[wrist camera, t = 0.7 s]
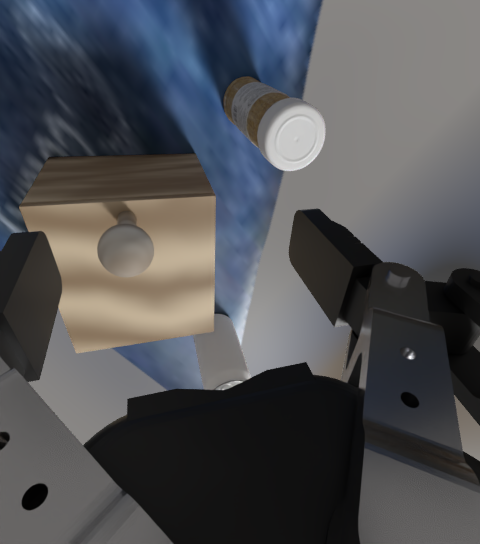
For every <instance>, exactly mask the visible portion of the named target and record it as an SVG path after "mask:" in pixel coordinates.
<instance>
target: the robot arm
mask: <svg viewBox="0 0 480 544" xmlns="http://www.w3.org/2000/svg"><path fill="white" fill-rule="evenodd" d="M289 258H290V261H291V264H292V265H293V267H294V269H295V270H296V272H297V273H298V274H299V276H300V277H301V279H302V280H303V282H304V283H305V285H306V286H307V288H308V289H309V290H310V292H311V294H312V295H313V296H314V298H315V299H316V301H317V302H318V304H319V305H320V307H321V308H322V309H323V311H324V313H325V314H326V315H327V317H328V318H329V320H330V321H331V323H332V324H333V325H334V327H339V326H345V325H350V326H351V331H350V334H349V338H348V343H347V349H346V355H345V361H344V367H343V372H342V378H341V381H340V380H338V379H334V378H330V377H326V376H319V375H313V374H312V372H311V370H310V368H309V367H308V365H307V363H306V362H305V363H300V364H295V365H290V366H285V367H280V368H276V369H270V370H266V371H264V372H262V373H260V374H258V375H256V376H254V377H252V378H250V379H248V380H245V381H243V382H241V383H239V384H237V385H235V386H233V387H231V388H229V389H225V390H201V389H173V390H168V391H164V392H159V393H154V394H149V395H145V396H139V397H134V398H130V399H128V405H127V406H128V407H127V415H126V416H123V417H121V418H119V419H117V420H116V421H114V422H112V423H111V424H109V425H107V426H106V427H104V428H103V429H102V430H100V431H99V432H98V433H96V434H95V435H94V436H93V437H92V438H91V439H90V440H89V441H88V442H86V443H85V444H84V445H82V444H81V443H80V442H79V441H78V439H77V438H76V437H75V436H74V435H73V434H72V433H71V431H70V430H69V429H68V428H67V427H66V426H65V425H64V423H63V422H62V421H61V420H60V419H59V418H58V417H57V415H55V413H54V412H53V411H52V410H51V409H50V408H49V406H48V405H47V404H46V403H45V402H44V401H43V399H42V398H41V397H40V396H39V395H38V394H37V393H36V392H35V390H34V389H33V388H32V387H31V386H30V385H29V383H28V382H29V381H35V380H39V379H40V375H41V372H42V368H43V364H44V360H45V356H46V352H47V349H48V344H49V341H50V337H51V333H52V329H53V325H54V321H55V317H56V314H57V310H58V306H59V302H60V298H61V294H62V280H61V275H60V272H59V269H58V266H57V264H56V261H55V258H54V255H53V253H52V250H51V247H50V244H49V241H48V239H47V237H46V235H45V233H44V232H43V231H34V232H22V233H13V234H11V235H10V237H9V239H8V241H7V242H6V244H5V246H4V248H3V249H2V251H0V544H480V461H478V460H477V459H475V458H474V457H472V456H470V455H469V454H467V453H465V452H464V451H463V450H462V443H461V437H460V431H459V424H458V418H457V411H456V405H455V399H454V395H455V396H456V397H457V398H458V400H459V401H460V402H461V403H462V405H463V406H464V407H465V408H466V410H467V411H468V412H469V413H470V414H471V416H472V417H473V418H474V419H475V420H476V422H477V423H478V424H479V425H480V352H479V351H478V350H477V349H476V348H475V347H474V346H473V344H474V343H475V341H476V340H477V338H478V337H479V336H480V271H478V270H474V269H466V268H461V269H456V270H454V271H453V272H452V273H451V275H450V277H449V279H448V281H447V283H443V282H431V281H425V280H424V278H423V277H422V276H421V275H420V274H419V273H418V272H417V271H415V270H414V269H412V268H410V267H408V266H405V265H403V264H399V263H394V262H382V261H381V260H380V259H379V258H378V257H377V256H376V255H374V253H372V252H371V251H370V250H369V249H368V248H367V247H366V246H365V245H364V244H363V243H361V241H360V240H358V239H357V238H356V237H354V235H353V234H352V233H351V232H350V231H349V230H348V229H346V227H344V226H342V225H340V224H338V223H336V222H334V221H331V220H330V219H329V218H328V217H327V216H326V215H325V214H324V213H323V212H322V211H321V210H320V209H307V210H298V211H297V212H296V213H295V216H294V221H293V227H292V234H291V239H290V246H289Z"/></svg>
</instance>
